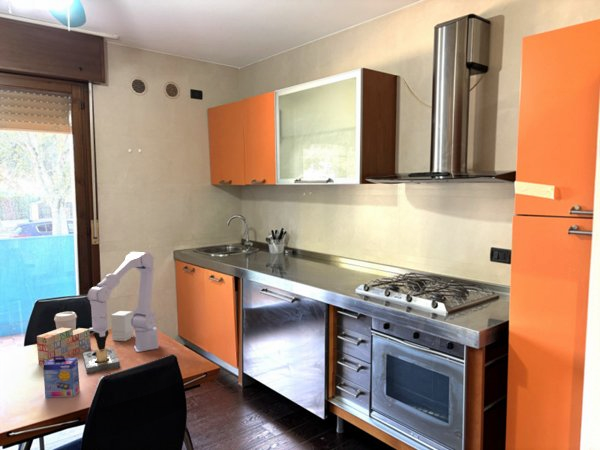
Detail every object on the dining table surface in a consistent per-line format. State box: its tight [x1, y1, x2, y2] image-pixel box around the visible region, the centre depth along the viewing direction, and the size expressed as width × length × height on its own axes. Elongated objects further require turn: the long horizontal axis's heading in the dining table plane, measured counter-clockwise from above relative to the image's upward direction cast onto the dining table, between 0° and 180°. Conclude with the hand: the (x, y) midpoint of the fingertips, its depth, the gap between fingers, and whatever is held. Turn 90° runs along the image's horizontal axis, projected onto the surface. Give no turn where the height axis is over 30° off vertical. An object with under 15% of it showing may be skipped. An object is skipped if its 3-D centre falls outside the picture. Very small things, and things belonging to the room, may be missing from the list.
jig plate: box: [82, 347, 121, 375], centre depth 183 cm, size 12×19×2 cm, turn 30°
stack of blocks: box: [36, 327, 92, 366], centre depth 191 cm, size 21×6×12 cm, turn 158°
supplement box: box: [110, 310, 135, 342], centre depth 213 cm, size 7×7×13 cm
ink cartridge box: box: [42, 356, 81, 399], centre depth 155 cm, size 10×6×14 cm, turn 95°
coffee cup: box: [53, 311, 78, 330], centre depth 205 cm, size 10×10×15 cm
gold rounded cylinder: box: [95, 347, 108, 364], centre depth 179 cm, size 4×4×7 cm
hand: (101, 349), depth 179 cm, fingers closed
